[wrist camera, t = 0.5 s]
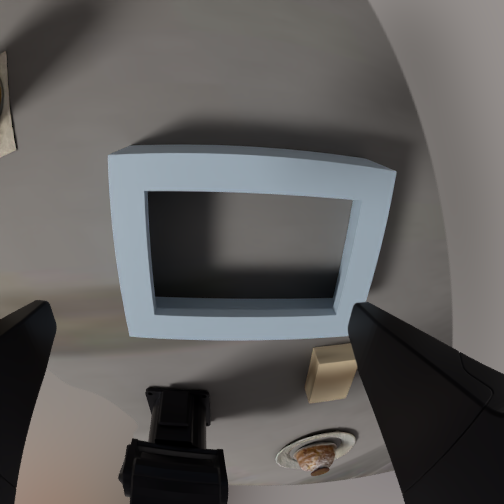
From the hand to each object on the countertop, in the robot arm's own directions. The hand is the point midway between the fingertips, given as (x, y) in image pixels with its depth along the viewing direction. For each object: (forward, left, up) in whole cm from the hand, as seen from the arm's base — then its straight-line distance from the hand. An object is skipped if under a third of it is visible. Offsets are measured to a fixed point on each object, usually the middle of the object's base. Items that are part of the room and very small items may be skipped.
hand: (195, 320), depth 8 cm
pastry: (-36, -15, -14) cm, 41 cm away
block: (-17, -12, -14) cm, 25 cm away
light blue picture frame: (-3, -3, -13) cm, 14 cm away
